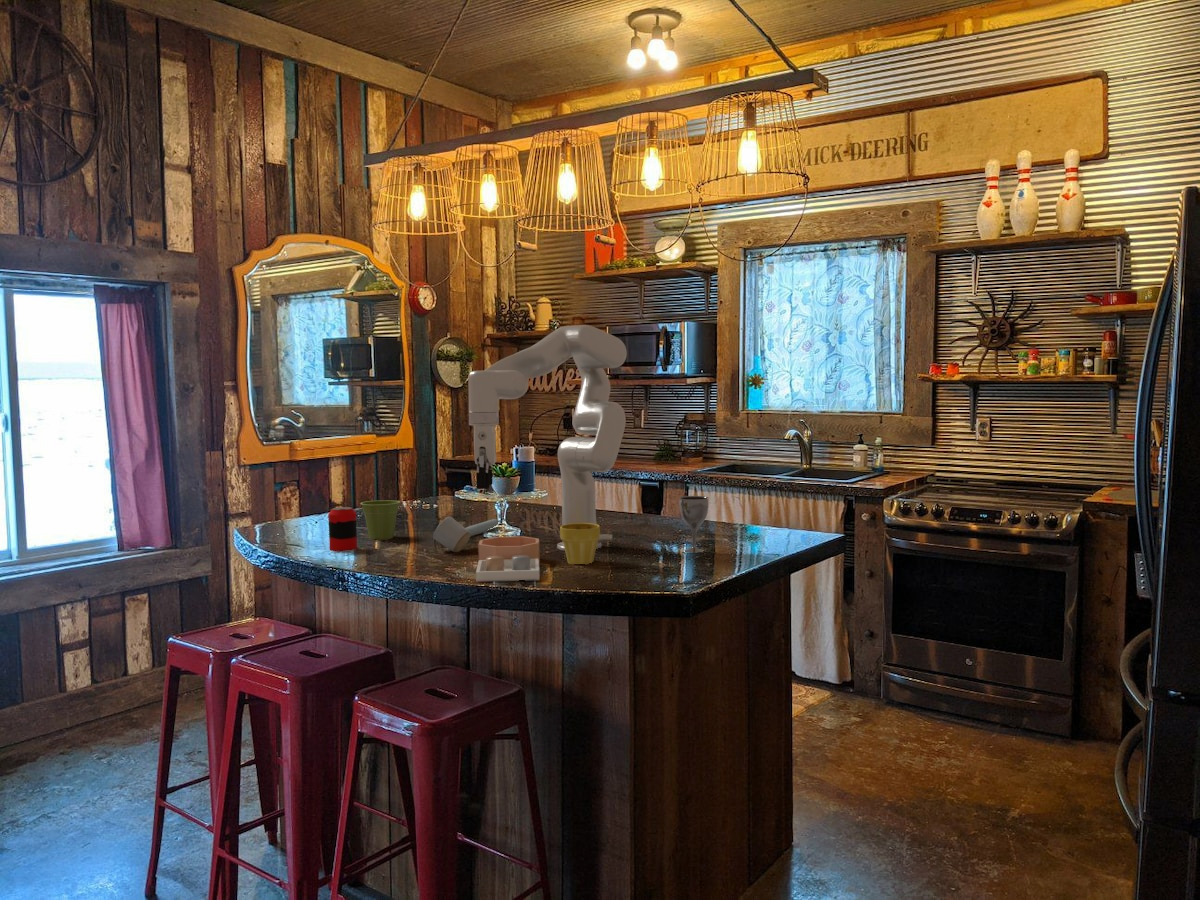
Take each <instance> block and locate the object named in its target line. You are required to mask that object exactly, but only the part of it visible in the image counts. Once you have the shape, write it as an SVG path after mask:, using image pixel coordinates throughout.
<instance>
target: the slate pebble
mask: <svg viewBox="0 0 1200 900" xmlns="http://www.w3.org/2000/svg"><path fill="white" fill-rule="evenodd" d="M514 570H530V556H528V555H516V556H513V557H512V571H514Z"/></svg>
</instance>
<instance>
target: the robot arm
mask: <svg viewBox="0 0 1200 900" xmlns="http://www.w3.org/2000/svg"><path fill="white" fill-rule="evenodd" d="M571 358H572V359H573V361H574V363H575V366H576V367H577V369H578V373H579V375H580V378H581V384H580V385H581V386H580V390H579V394H578V398H577V401H576V404H575V408H574V413H573V416H572V427H573V429H574V430H575V431H576V432H577V433H579V434H582V435H589V436H590V435H592V436H595V437H589V436H571V437H568V438H565V439H563V441H561V442H560V444H559V446H558V449H557V461H558V467H559V469H560V477H561V478H560V479H561V513H562V515H561V516H562V517H561V521H562V525H564V524H570V523H593V524H597V518H596V515H597V513H596V512H597V511H596V503H597V502H596V501H597V500H596V483H595V479H594V476H593V475H592V473H605V472H608V471H610V470H611V469H612V468H613V467H614V465H615V464H616V463H615V462H616V461H617V459H618V454H619V451H620V446H621V444H622V440H623V437H624V432H625V428H626V413H625V410H624V408H623V407H622V405H621V404H619V403H617V402H615V401H609V398H610V395H611V382H610V379H609V377H608V375H607V374H606V371H605V369H617V368H619V367H621V366H622V365H624V363H625V361H626V359H627V348H626V345H625V343H624V342H623V341H622V340H621V338H620V337H617V336H615V335H612V334H611V333H609V332H606V331H604V330H602V329H600V328H598V327H595V326H593V325H589V324H579V325H578V324H577V325H576V324H575V325H574V324H573V325H564V326H561V327H559V328H557V329H555V330H554V331H552V332H551V333H549V334H547V335H546V336H545V337H544V338H542V339H541V340H539V341H537V342H536V343H535V344H533V345H531V346H529V347H527V348H525V349H522V350H519V351H518V352H516V353H514V354H511V355H508V356H506V357H504V358H502V359H500V360H498V361H496V362H494V363H493V364H492V365H490V366H489V367H487V368H486V369H484V370H472V371H471V372H469V374H468V425H469V426H473V451H474V452H473V454H474V463H475V464H476V476H475V479H476V480H475V481H476V483H475V485H476V489H477V490H489V489H490V486H492V485H493V483H494V482H493V477H494V476H493V475H494V474H493V466H492V465H495V464H496V463H497V441H496V440H497V438H496V437H497V435H496V426H499V425H500V422H499V421H500V420H499V419H500V415H499V413H500V412H499V410H500V409H499V408H500V407H499V406H500V405H499V402H500V401H499V400H517V399H519V398H521V397H523V396H524V395H525V394H526V393H527V392H528V391H527V390H528V388H529V381H528V380H529V379H534V378H539V377H542V376H545V375H547V374H549V373H551V372H553V371H554V370H555V369H556V368H558V367H560V365H562V364H563V363H565V362H567V361H568V360H569V359H571ZM562 525H561V526H562ZM602 542H613V534H606V533H605V534H604V533H602V534H601V533H600V538H599V539H598V540H597V545H596V549H597V550H599V549H598V548H600V549H601V548H602V546H603V545H602ZM556 545H557V546H556V548H557V550H560V551H565V548H564V543H563V541H562V542H558V543H557V544H556Z"/></svg>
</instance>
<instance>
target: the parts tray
mask: <svg viewBox="0 0 1200 900" xmlns="http://www.w3.org/2000/svg"><path fill="white" fill-rule="evenodd" d="M475 579H476V580H475V582H476V583H478V582H479V583H481V582H484V583H485V582H514V581H515V582H518V581H519V580H525V581H540V563H539V560H538V559H530V570H514V571H512V559H504V571H486V560H479V559H478V562H477V566H476V570H475ZM519 582H520V581H519Z"/></svg>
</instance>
